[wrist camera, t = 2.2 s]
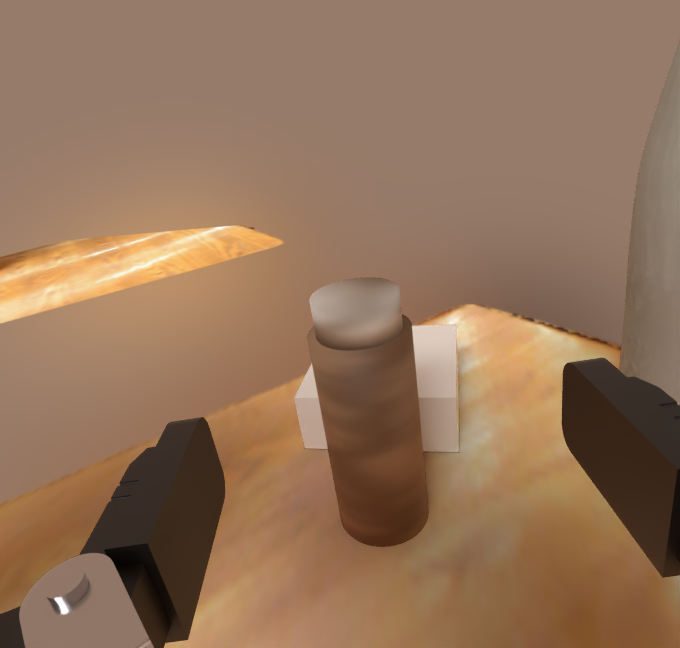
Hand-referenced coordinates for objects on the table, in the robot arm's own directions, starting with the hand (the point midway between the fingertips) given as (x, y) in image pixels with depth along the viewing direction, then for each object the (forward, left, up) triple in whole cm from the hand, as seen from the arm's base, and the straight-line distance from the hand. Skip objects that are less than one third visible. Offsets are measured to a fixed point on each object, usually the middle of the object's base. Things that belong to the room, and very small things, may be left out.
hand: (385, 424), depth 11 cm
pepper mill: (-3, +11, -14) cm, 18 cm away
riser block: (-4, +21, -14) cm, 25 cm away
